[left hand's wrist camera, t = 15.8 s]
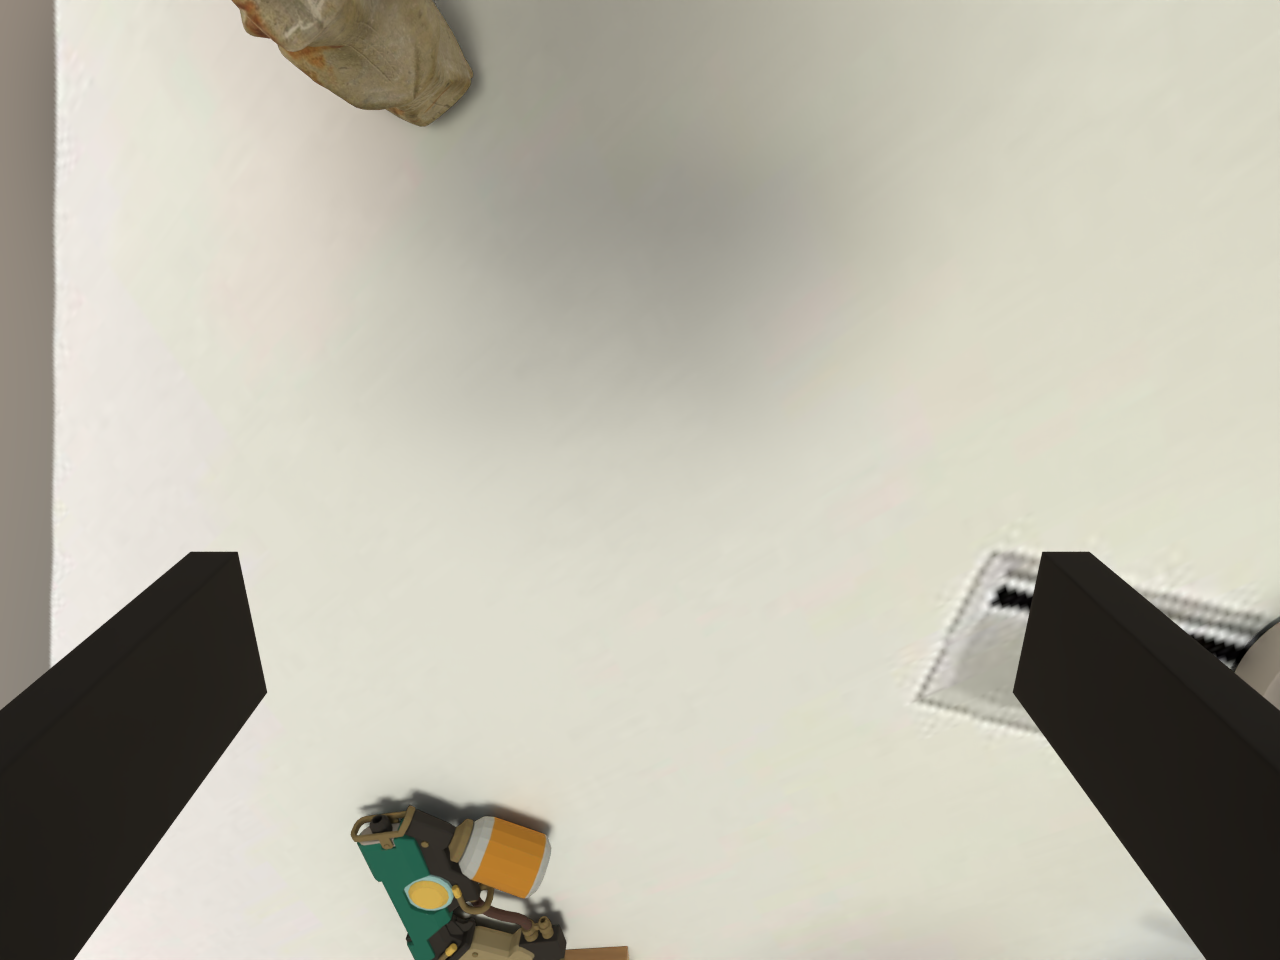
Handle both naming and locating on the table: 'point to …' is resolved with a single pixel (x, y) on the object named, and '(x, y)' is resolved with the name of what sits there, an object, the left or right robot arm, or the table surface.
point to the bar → (598, 953)
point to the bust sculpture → (1263, 666)
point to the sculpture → (369, 51)
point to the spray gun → (460, 883)
